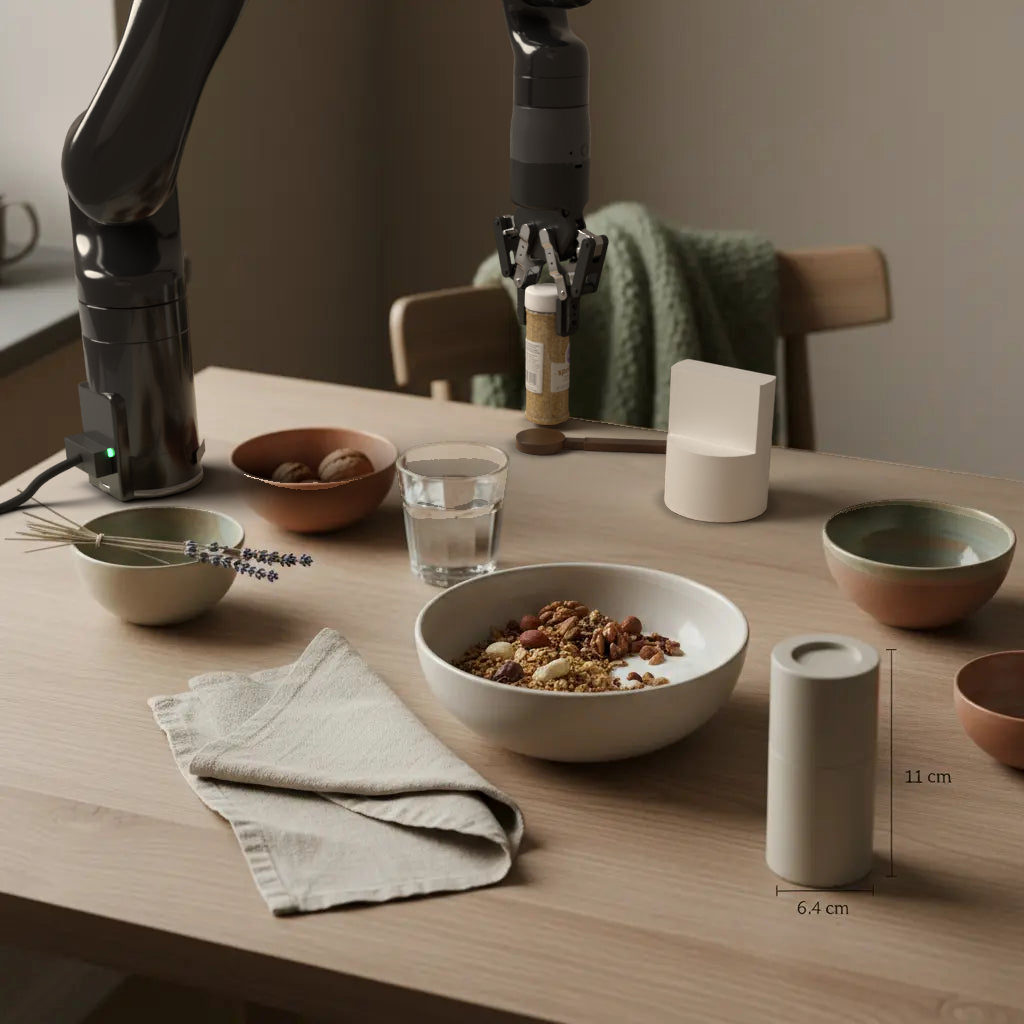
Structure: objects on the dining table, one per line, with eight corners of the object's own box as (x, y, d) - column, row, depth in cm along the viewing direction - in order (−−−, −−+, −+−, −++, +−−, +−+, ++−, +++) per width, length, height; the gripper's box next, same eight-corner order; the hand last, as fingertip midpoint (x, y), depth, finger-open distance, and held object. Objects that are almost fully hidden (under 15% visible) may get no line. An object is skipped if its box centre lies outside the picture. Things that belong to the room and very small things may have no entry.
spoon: (698, 442, 147) (698, 433, 146) (699, 460, 142) (700, 450, 142) (517, 436, 148) (517, 427, 148) (513, 454, 144) (513, 444, 143)
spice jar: (573, 425, 150) (575, 292, 144) (527, 427, 149) (528, 294, 144) (565, 410, 154) (567, 280, 148) (521, 412, 153) (521, 282, 148)
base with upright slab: (645, 506, 132) (650, 375, 127) (695, 475, 139) (701, 350, 134) (737, 530, 127) (746, 395, 122) (784, 497, 134) (794, 368, 129)
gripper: (469, 147, 143) (470, 321, 150) (575, 168, 134) (572, 353, 141) (527, 138, 148) (525, 308, 155) (633, 158, 139) (627, 337, 145)
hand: (547, 328), depth 148 cm, fingers closed on spice jar, 4 cm apart
